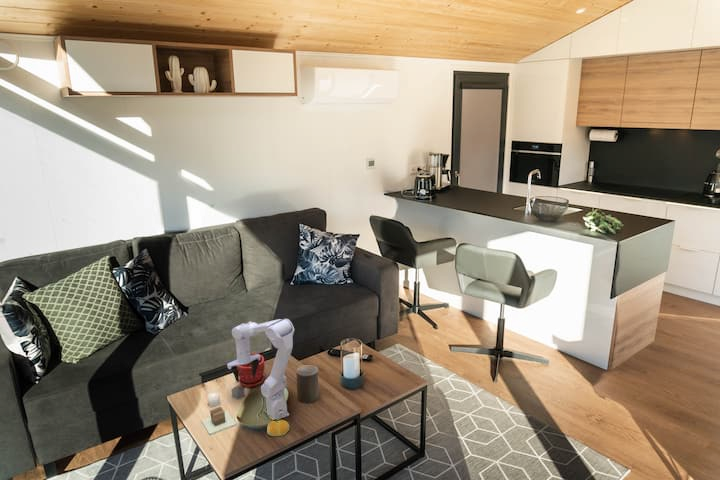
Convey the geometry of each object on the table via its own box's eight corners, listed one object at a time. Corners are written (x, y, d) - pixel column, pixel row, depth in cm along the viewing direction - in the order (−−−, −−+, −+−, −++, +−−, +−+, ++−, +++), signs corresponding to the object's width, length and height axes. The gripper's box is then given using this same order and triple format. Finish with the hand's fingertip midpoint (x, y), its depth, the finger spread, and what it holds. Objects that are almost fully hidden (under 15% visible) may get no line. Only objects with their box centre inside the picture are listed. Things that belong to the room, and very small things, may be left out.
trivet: (236, 425, 203) (236, 423, 203) (209, 435, 197) (209, 433, 197) (227, 412, 212) (227, 411, 212) (201, 421, 206) (201, 420, 206)
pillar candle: (304, 406, 215) (303, 375, 212) (293, 396, 223) (292, 366, 219) (323, 398, 221) (322, 368, 217) (311, 389, 229) (310, 359, 225)
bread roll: (290, 435, 197) (289, 426, 196) (267, 438, 195) (266, 429, 194) (289, 422, 204) (288, 414, 203) (267, 425, 203) (266, 417, 202)
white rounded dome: (221, 404, 218) (220, 394, 216) (210, 408, 215) (209, 398, 214) (218, 399, 222) (216, 389, 220) (207, 403, 219) (205, 393, 218)
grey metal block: (244, 395, 224) (244, 387, 223) (238, 399, 221) (237, 391, 220) (239, 392, 227) (238, 385, 226) (232, 397, 224) (231, 389, 222)
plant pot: (232, 382, 236) (230, 359, 232) (256, 372, 244) (255, 350, 241) (246, 393, 226) (244, 369, 223) (271, 382, 235) (269, 359, 232)
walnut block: (225, 422, 204) (224, 411, 203) (214, 426, 202) (213, 415, 200) (221, 417, 208) (220, 406, 207) (211, 421, 205) (210, 410, 204)
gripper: (255, 342, 223) (257, 369, 226) (223, 351, 215) (226, 379, 218) (261, 348, 217) (263, 376, 220) (229, 358, 209) (232, 386, 213)
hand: (245, 378), depth 219 cm, fingers open, 7 cm apart
